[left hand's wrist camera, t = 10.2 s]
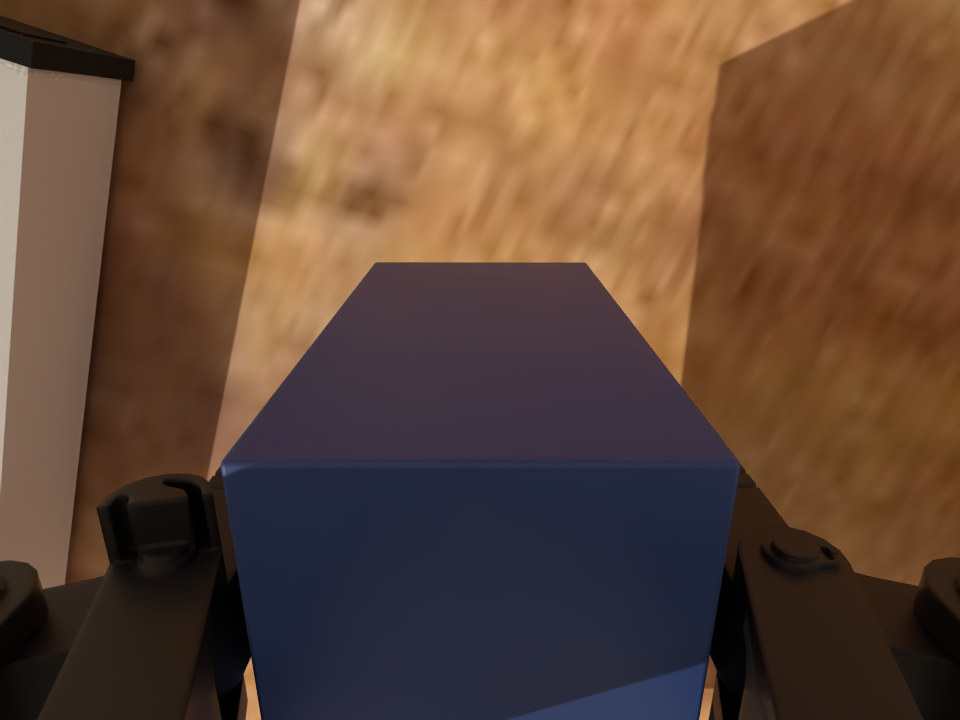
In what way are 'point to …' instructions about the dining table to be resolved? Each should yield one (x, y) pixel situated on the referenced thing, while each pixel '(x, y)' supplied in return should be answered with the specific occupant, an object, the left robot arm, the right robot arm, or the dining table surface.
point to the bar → (480, 509)
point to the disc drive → (49, 275)
